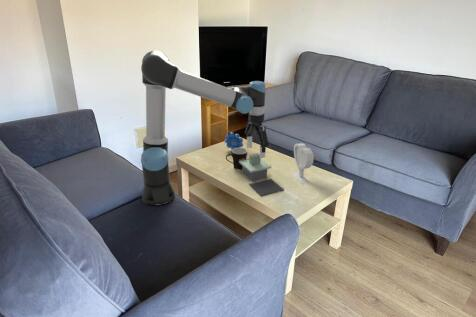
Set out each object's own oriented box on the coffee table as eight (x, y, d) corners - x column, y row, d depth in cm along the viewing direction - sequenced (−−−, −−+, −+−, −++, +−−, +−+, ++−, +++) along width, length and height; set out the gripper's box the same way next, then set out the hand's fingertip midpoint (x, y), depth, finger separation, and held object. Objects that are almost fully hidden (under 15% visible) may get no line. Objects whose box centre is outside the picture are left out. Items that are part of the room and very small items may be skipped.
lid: (250, 172, 173) (251, 162, 171) (239, 162, 184) (239, 152, 181) (270, 168, 178) (271, 157, 176) (258, 158, 189) (258, 148, 186)
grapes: (224, 153, 208) (224, 135, 203) (224, 148, 215) (224, 131, 209) (243, 153, 209) (243, 135, 204) (242, 149, 215) (243, 131, 210)
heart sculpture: (290, 171, 188) (293, 141, 180) (298, 170, 189) (301, 140, 182) (302, 185, 174) (306, 153, 167) (311, 184, 176) (315, 152, 168)
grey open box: (251, 181, 177) (252, 171, 175) (242, 172, 186) (242, 162, 184) (266, 178, 181) (267, 167, 178) (256, 169, 190) (256, 159, 187)
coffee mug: (247, 164, 196) (248, 148, 191) (246, 171, 188) (246, 154, 184) (227, 162, 197) (227, 146, 192) (225, 169, 189) (225, 153, 185)
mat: (261, 196, 164) (261, 195, 164) (249, 185, 174) (249, 184, 174) (283, 190, 170) (283, 189, 170) (270, 179, 179) (271, 178, 179)
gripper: (277, 119, 160) (274, 160, 169) (251, 105, 180) (250, 142, 189) (263, 122, 157) (261, 163, 166) (238, 107, 177) (238, 145, 186)
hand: (255, 152), depth 178 cm, fingers open, 13 cm apart
